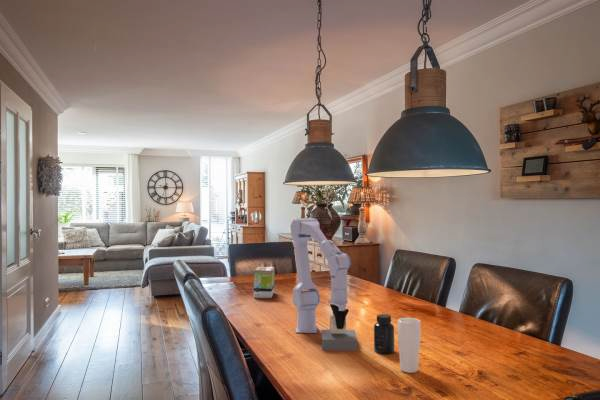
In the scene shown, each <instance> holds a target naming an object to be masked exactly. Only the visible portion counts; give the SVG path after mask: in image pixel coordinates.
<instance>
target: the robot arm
mask: <svg viewBox="0 0 600 400" xmlns="http://www.w3.org/2000/svg"><path fill="white" fill-rule="evenodd" d="M290 234H291V239H292V240H293V248H294V255H295V264H296V272H297V281H298V283H297V285H295V286H294V287H293V289H292V290H293V291H292V292H293V294H292V302H293V305H294V307H295V309H297V313H296V316H297V317H296V318H297V321H296V322H297V324H296V329H295V333H296V334H300V333H301V334H304V333H305V334H310V333H311V334H316V333H317V331H318V328H317V327H318V326H317V325H316V324H317V323H316V322H317V320H316V319H317V315H316V314H317V313H316V312H317V308H318V306H319V305H320V303H321V294H320V291H319V287H318V285H316V284H315V283H314V282H313V281H312V280H313V279H312V272H311V265H310V255H309V250H308V249H309V247H308V242H309V240H311V239H313V240H314V241H315V243H317V244H318V246H319V251H320V253H321V254H322V255H323V256H324V258H325V259H326V260H327V266H328V270H329V275H330V279H331V280H330V299H328V300H327V304H329V307H330V308H331V310H332V315H335V320H336V327H337V329H343V327H344V323H345V318H346V319H347V315H348V313H349V312H350V311H349V309H348V308H346V307H347V304H348V303H349V301H348V270H349V269H350V267H351V265H352V262H351V258H350V256H349V254H348V253H344V252H342V251H341V250H340V249H339V247H338V246H337V245H336V243H335V242H334V241H333V240H331V239H328V238H327V237H326V236H325V234H324V233H323V231H322V229H321V228H320V222H319V221H318V219H317V218H315V217H310V218H305V217H304V218H303V217H301V218H298V217H295V218H293V219H292V221H291V223H290Z"/></svg>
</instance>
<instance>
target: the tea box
mask: <svg viewBox="0 0 600 400" xmlns="http://www.w3.org/2000/svg"><path fill="white" fill-rule="evenodd" d="M275 268H276V267H275V266H256V268H255V269H254V272H253V274H254V275H253V276H254V277H253V281H254V282H253V298H255V299H256V298H257V299H259V298H260V299H272V297H273V296H274V293H275Z"/></svg>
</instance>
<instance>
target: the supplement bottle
mask: <svg viewBox="0 0 600 400" xmlns="http://www.w3.org/2000/svg"><path fill="white" fill-rule="evenodd" d="M373 350H374V352H375V353H376V354H380V355H391V354H394V352H395V325H394V324H393V323H392V316H391V315H390V314H385V313H380V314H377V315H376V322H375V324H374V325H373Z"/></svg>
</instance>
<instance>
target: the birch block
mask: <svg viewBox="0 0 600 400" xmlns="http://www.w3.org/2000/svg"><path fill="white" fill-rule="evenodd" d="M329 330H331V333H346V330H347V317H346V318H345V323H344V327H343V329H337V327H336V320H335V315H333V314H330V315H329Z"/></svg>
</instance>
